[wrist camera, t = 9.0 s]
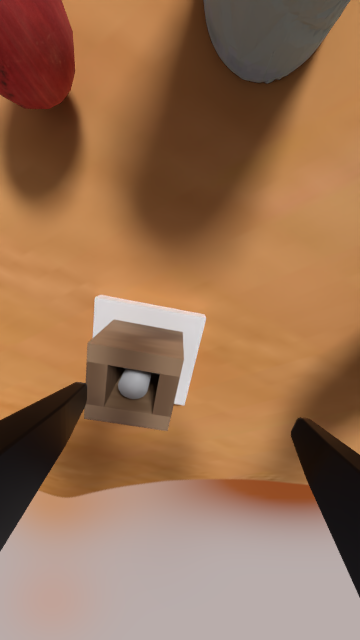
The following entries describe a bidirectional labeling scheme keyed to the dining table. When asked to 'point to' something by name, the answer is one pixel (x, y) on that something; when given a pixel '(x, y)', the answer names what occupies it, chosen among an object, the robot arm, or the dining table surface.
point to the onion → (35, 53)
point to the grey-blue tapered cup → (269, 33)
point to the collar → (140, 354)
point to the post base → (156, 316)
